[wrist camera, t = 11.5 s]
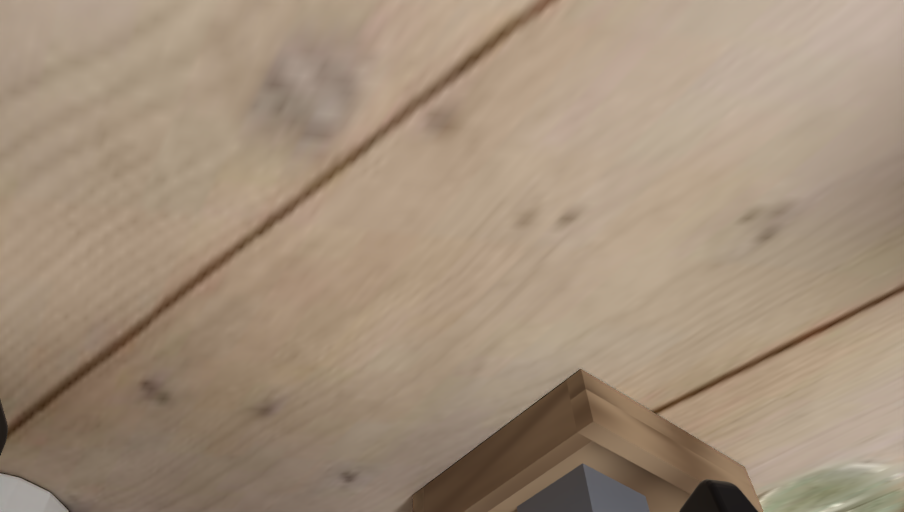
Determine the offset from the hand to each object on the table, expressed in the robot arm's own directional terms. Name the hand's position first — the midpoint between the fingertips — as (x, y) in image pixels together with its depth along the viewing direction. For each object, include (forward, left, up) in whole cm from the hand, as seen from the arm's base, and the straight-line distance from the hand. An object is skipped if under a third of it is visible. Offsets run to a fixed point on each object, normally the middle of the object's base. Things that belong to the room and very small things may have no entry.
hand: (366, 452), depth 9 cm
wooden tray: (+10, -19, -13) cm, 25 cm away
